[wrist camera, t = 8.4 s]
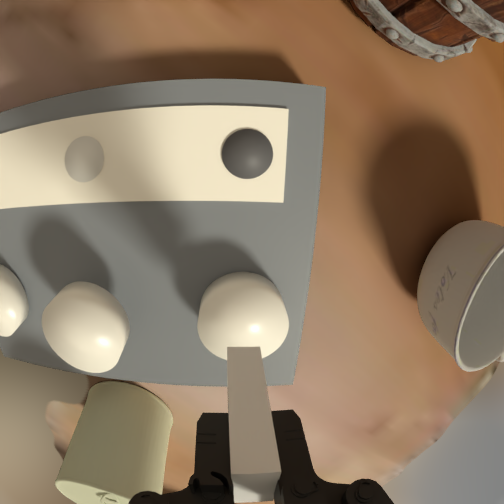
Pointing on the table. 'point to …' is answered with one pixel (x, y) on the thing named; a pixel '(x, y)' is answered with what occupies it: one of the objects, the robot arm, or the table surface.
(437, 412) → the table surface
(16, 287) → the button
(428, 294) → the teacup
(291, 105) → the button board
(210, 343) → the button
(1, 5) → the table surface
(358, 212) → the table surface
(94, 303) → the button middle
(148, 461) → the can
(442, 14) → the mug
